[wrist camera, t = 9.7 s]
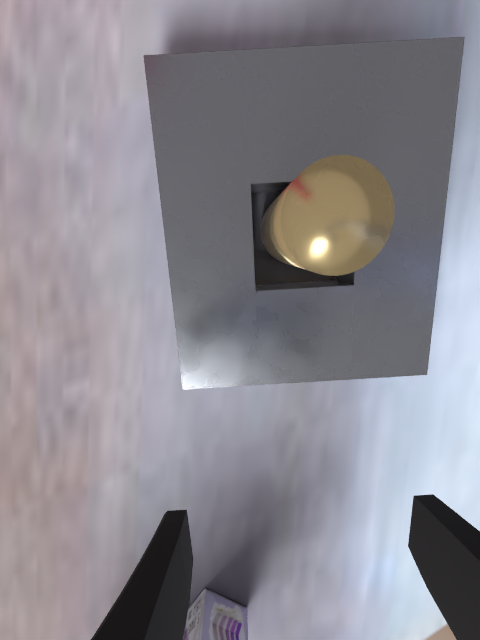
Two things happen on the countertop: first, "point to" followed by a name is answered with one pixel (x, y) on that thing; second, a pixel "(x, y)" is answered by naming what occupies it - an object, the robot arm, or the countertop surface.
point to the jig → (275, 175)
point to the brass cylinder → (330, 217)
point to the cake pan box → (216, 618)
